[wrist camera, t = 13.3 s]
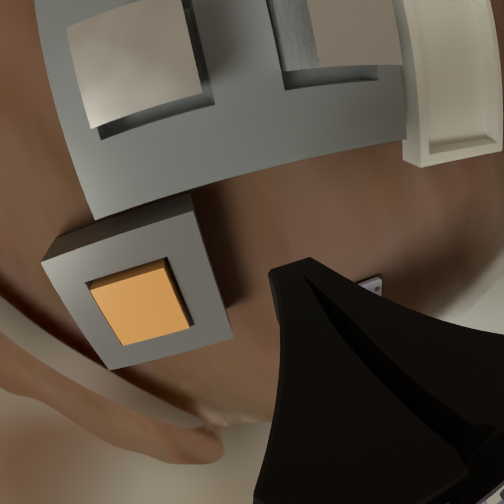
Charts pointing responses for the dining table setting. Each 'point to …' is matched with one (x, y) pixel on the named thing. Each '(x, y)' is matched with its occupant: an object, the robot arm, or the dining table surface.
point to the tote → (449, 80)
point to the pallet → (216, 108)
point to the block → (133, 59)
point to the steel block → (334, 33)
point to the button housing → (133, 254)
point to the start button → (142, 301)
